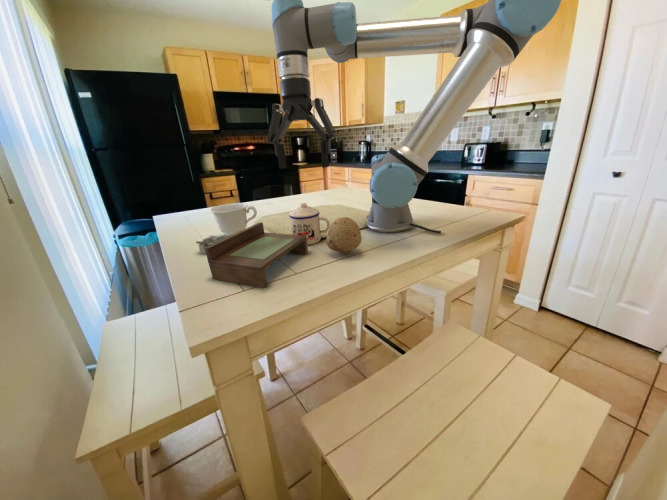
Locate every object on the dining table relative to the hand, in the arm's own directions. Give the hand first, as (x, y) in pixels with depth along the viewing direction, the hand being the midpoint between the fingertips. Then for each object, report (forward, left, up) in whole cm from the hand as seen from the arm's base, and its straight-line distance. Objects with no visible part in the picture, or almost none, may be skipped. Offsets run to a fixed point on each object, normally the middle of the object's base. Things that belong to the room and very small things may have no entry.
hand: (303, 167), depth 76 cm
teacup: (+28, +1, -22) cm, 36 cm away
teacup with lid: (0, 0, -22) cm, 22 cm away
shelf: (+4, +19, -22) cm, 29 cm away
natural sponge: (-14, +7, -22) cm, 27 cm away
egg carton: (+25, +13, -22) cm, 36 cm away
